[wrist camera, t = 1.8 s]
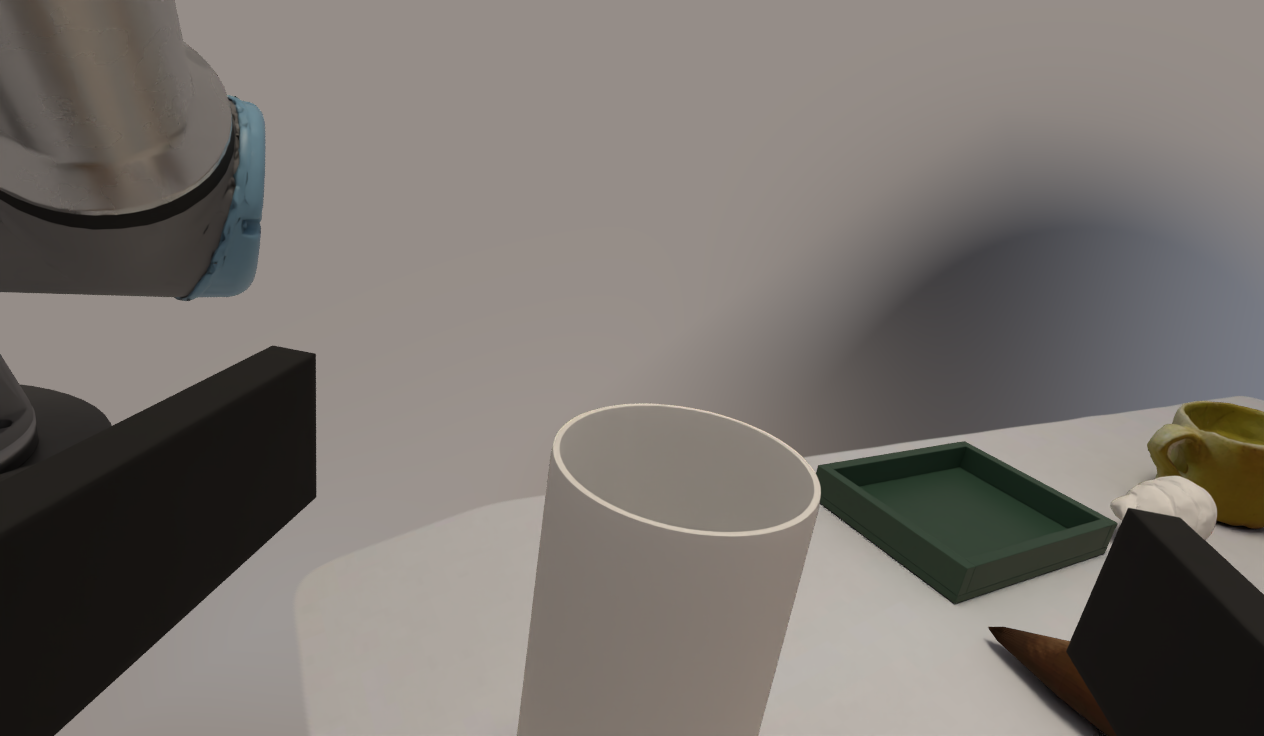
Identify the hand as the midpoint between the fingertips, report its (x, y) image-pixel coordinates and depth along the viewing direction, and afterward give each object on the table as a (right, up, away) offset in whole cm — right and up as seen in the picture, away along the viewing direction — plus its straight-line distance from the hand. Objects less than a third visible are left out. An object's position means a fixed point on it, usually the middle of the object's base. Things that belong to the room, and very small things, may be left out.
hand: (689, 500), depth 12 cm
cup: (-2, -16, +16) cm, 22 cm away
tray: (+23, -9, +42) cm, 49 cm away
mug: (+47, -10, +52) cm, 71 cm away
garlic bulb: (+38, -11, +44) cm, 59 cm away
